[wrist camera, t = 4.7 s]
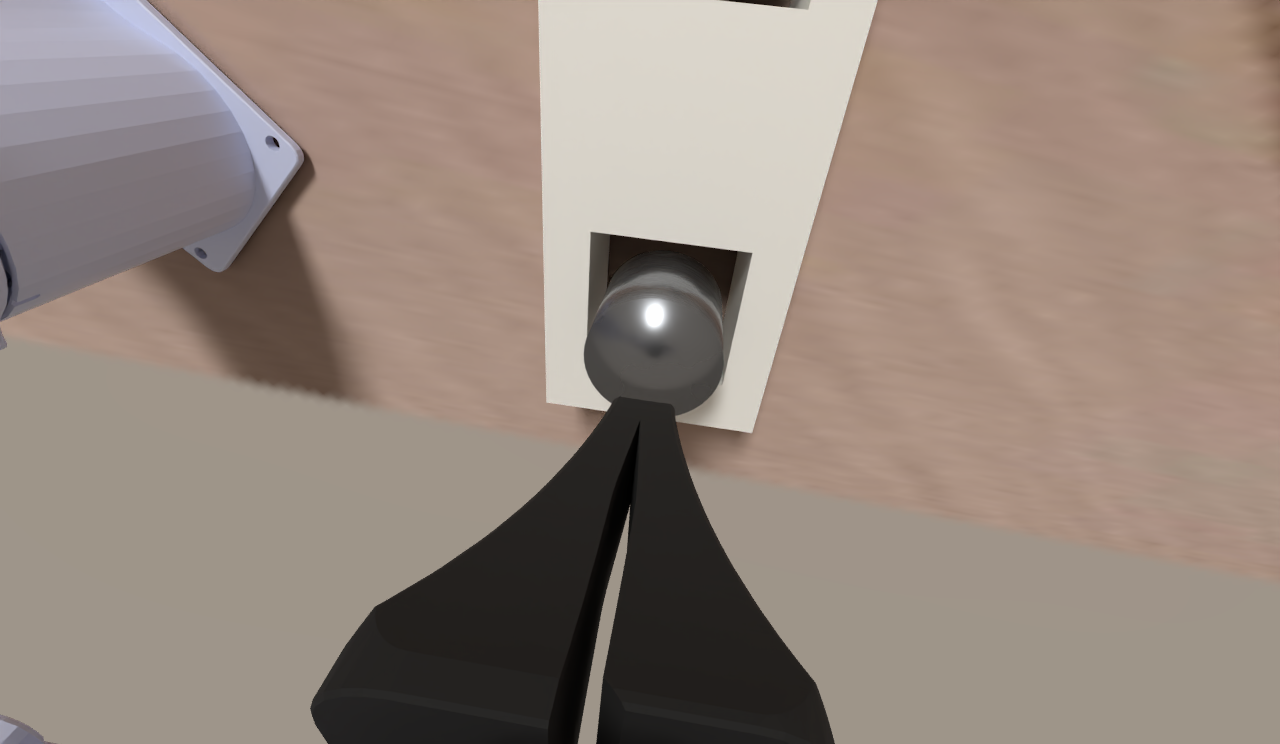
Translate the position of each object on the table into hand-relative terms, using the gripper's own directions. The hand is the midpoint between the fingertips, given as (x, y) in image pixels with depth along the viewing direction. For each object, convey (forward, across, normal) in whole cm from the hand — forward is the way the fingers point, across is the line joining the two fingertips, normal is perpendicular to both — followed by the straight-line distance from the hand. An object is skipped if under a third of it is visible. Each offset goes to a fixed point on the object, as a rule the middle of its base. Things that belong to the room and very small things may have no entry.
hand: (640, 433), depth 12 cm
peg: (+7, 0, 0) cm, 7 cm away
